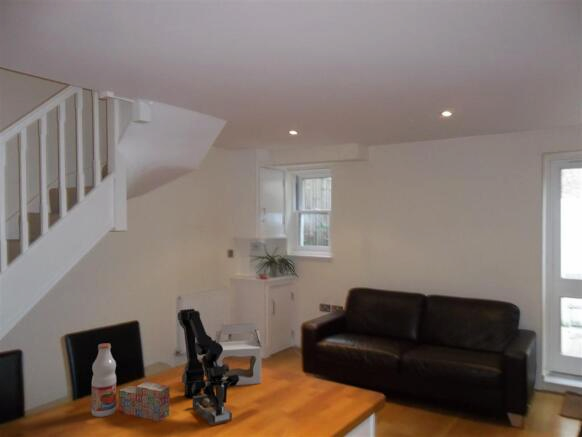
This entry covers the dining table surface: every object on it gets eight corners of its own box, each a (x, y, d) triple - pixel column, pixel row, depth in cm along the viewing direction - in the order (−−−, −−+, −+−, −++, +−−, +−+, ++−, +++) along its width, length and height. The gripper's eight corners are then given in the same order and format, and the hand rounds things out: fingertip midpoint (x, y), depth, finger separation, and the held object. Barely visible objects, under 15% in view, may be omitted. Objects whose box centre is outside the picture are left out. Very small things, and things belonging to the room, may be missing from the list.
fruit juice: (102, 406, 199) (102, 340, 199) (120, 409, 196) (121, 342, 196) (86, 415, 190) (86, 346, 190) (105, 418, 187) (106, 348, 187)
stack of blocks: (118, 412, 193) (118, 382, 193) (129, 407, 199) (129, 378, 199) (159, 422, 184) (159, 390, 185) (169, 416, 190) (170, 385, 190)
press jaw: (210, 417, 185) (210, 384, 185) (224, 414, 188) (224, 381, 189) (215, 422, 181) (215, 388, 181) (229, 418, 184) (229, 385, 184)
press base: (192, 407, 199) (192, 396, 199) (212, 403, 204) (212, 392, 204) (210, 425, 181) (210, 413, 181) (231, 420, 186) (231, 409, 186)
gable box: (257, 375, 242) (258, 320, 242) (261, 383, 229) (262, 326, 229) (214, 377, 237) (214, 322, 237) (215, 386, 224) (216, 328, 224)
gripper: (194, 360, 184) (203, 398, 174) (237, 354, 193) (249, 389, 184) (187, 375, 190) (196, 412, 181) (229, 368, 200) (240, 402, 190)
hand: (221, 403), depth 184 cm, fingers closed on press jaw, 3 cm apart
